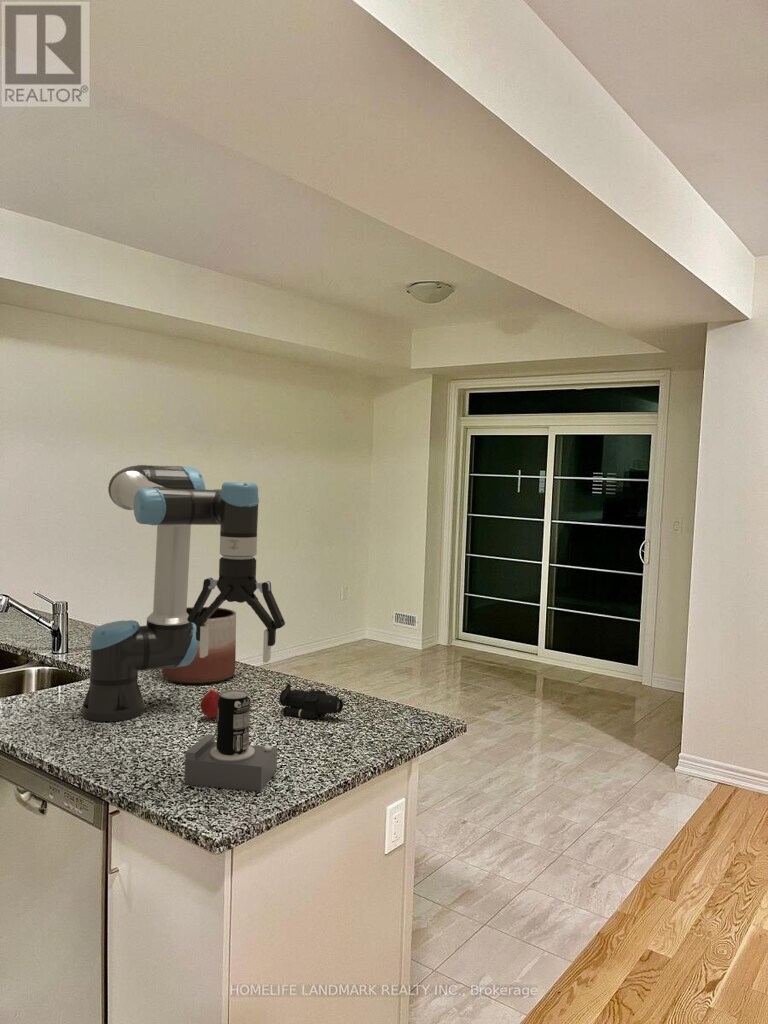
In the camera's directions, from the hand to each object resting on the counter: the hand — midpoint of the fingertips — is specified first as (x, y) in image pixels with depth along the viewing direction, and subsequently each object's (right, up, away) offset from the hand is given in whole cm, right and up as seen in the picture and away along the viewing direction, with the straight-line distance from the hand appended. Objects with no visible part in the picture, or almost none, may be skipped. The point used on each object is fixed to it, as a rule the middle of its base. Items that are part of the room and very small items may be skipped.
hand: (235, 658), depth 156 cm
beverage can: (-1, -19, 0) cm, 19 cm away
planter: (-27, -21, +78) cm, 85 cm away
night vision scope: (+11, -24, +43) cm, 50 cm away
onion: (-13, -23, +37) cm, 46 cm away
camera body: (-1, -25, 0) cm, 25 cm away
